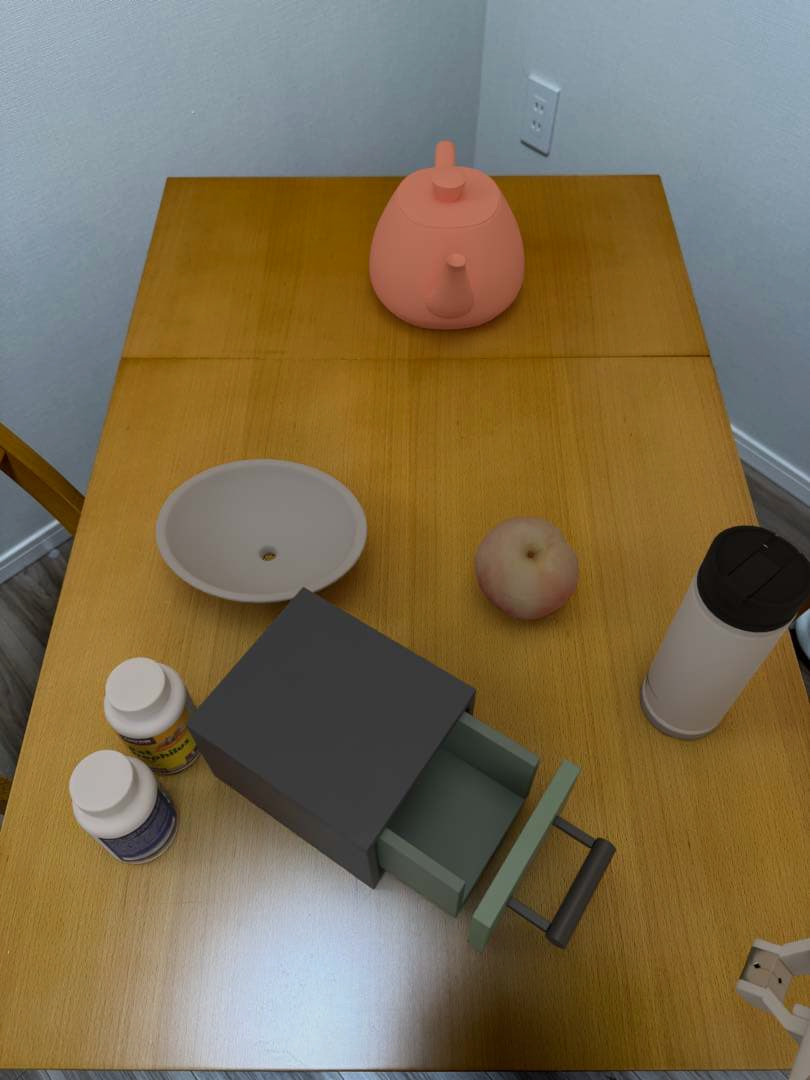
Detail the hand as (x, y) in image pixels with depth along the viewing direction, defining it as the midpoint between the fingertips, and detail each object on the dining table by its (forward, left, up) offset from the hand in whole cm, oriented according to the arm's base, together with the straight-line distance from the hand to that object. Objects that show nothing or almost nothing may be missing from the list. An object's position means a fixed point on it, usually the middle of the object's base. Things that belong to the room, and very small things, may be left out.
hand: (749, 969), depth 46 cm
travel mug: (+18, +9, -11) cm, 23 cm away
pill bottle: (-12, +37, -11) cm, 40 cm away
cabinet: (0, +28, -11) cm, 30 cm away
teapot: (+50, +50, -11) cm, 71 cm away
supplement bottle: (-6, +40, -11) cm, 42 cm away
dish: (+11, +44, -11) cm, 47 cm away
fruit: (+20, +24, -11) cm, 33 cm away
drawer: (0, +17, -10) cm, 20 cm away
